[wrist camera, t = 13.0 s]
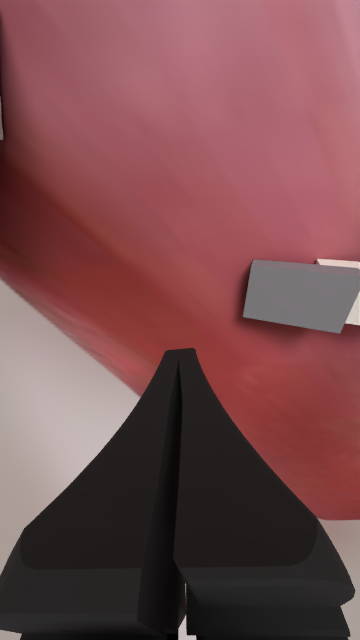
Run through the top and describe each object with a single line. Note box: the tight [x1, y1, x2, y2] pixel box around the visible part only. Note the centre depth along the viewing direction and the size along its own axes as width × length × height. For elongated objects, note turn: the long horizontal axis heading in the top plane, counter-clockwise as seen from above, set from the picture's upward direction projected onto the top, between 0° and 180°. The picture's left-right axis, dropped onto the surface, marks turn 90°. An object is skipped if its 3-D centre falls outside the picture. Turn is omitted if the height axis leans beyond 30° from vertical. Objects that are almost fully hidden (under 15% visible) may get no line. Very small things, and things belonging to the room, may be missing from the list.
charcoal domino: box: [243, 259, 360, 334], centre depth 16 cm, size 2×4×7 cm
